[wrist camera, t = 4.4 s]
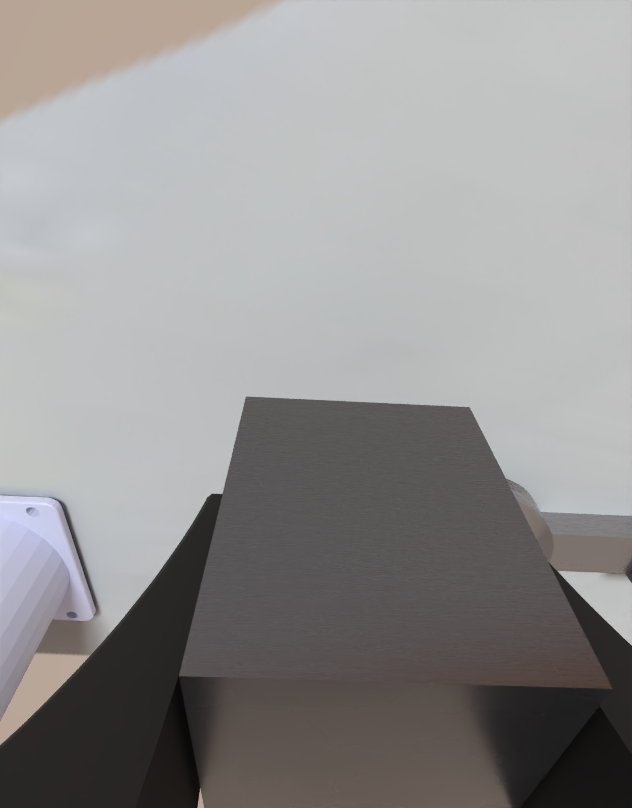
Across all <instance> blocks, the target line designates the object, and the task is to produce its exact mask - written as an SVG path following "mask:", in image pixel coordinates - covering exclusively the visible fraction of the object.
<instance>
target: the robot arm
mask: <svg viewBox="0 0 632 808" xmlns="http://www.w3.org/2000/svg"><path fill="white" fill-rule="evenodd" d="M222 495H223V494H211V495H210V496H209V497H207V499H206V501H205V503H204V505H203V507H202V508H201V510H200V512H199V514H198V515H197V517H196V519H195V520H194V522H193V523H192V525H191V527H190V528H189V530H188V531H187V533H186V534H185V536H184V537H183V539H182V540H181V542H180V543H179V545H178V546H177V548H176V549H175V551H174V552H173V553H172V555H171V556H170V558H169V559H168V561H167V562H166V563H165V565H164V566H163V568H162V569H161V570H160V572H159V573H158V575H157V576H156V577H155V579H154V580H153V581H152V583H151V584H150V585H149V586H148V588H147V589H146V590H145V591H144V593H143V594H142V595H141V597H140V598H139V599H138V600H137V602H136V603H135V604H134V605H133V607H132V608H131V609H130V610H129V612H128V613H127V614H126V615H125V617H124V618H123V619H122V620H121V621H120V623H119V624H118V625H117V626H116V627H115V628H114V630H113V631H112V632H111V633H110V634H109V635H108V637H107V638H106V639H105V640H104V641H103V642H102V643H101V645H100V646H99V647H98V648H97V649H96V650H95V651H94V652H93V653H92V654H91V656H90V657H89V658H88V659H87V660H86V661H85V662H84V663H83V664H82V666H80V668H79V669H78V670H77V671H76V672H75V673H74V674H73V675H72V676H71V677H70V678H69V679H68V680H67V681H66V682H65V683H64V684H63V685H62V686H61V687H60V688H59V689H58V690H57V691H56V692H55V693H54V694H53V695H52V696H51V697H50V698H49V699H48V701H47V702H45V703H44V705H42V706H41V707H40V708H39V710H38V711H36V712H35V713H34V714H33V715H32V716H31V717H30V718H29V719H28V720H27V721H26V722H25V723H24V724H23V725H22V726H21V727H20V728H19V729H18V730H17V731H16V732H14V733H13V734H12V735H11V736H10V737H9V738H8V739H7V740H6V741H5V742H4V743H2V744H1V745H0V808H197V806H198V799H199V792H200V783H199V777H198V772H197V767H196V762H195V757H194V751H193V746H192V741H191V736H190V731H189V725H188V720H187V715H186V710H185V705H184V700H183V694H182V689H181V684H180V679H179V674H180V670H181V666H182V661H183V657H184V653H185V649H186V645H187V641H188V636H189V632H190V628H191V624H192V620H193V616H194V611H195V607H196V603H197V599H198V595H199V591H200V586H201V582H202V578H203V574H204V570H205V566H206V561H207V557H208V553H209V549H210V545H211V541H212V536H213V532H214V528H215V524H216V520H217V516H218V511H219V507H220V503H221V499H222ZM548 563H549V562H548ZM549 565H550V567H551V569H552V571H553V573H554V575H555V576H556V578H557V580H558V582H559V584H560V586H561V588H562V590H563V592H564V594H565V596H566V598H567V600H568V602H569V604H570V606H571V608H572V610H573V612H574V614H575V616H576V618H577V620H578V622H579V624H580V626H581V628H582V630H583V631H584V633H585V635H586V637H587V639H588V641H589V643H590V645H591V647H592V649H593V651H594V653H595V655H596V657H597V659H598V661H599V663H600V665H601V667H602V669H603V671H604V673H605V675H606V677H607V679H608V681H609V683H610V685H611V686H612V688H613V689H612V690H611V692H610V693H609V694H608V696H607V697H606V698H605V699H604V701H603V702H602V703H601V705H600V706H599V707H598V708H597V710H596V711H595V712H594V714H593V715H592V716H591V717H590V719H589V720H588V721H587V723H586V724H585V725H584V726H583V728H582V729H581V730H580V732H579V733H578V734H577V735H576V737H575V738H574V739H573V741H572V742H571V743H570V744H569V746H568V747H567V748H566V750H565V751H564V752H563V753H562V755H561V756H560V757H559V759H558V760H557V761H556V762H555V764H554V765H553V766H552V768H551V769H550V770H549V771H548V773H547V774H546V775H545V777H544V778H543V779H542V780H541V782H540V783H539V784H538V786H537V787H536V788H535V789H534V791H533V792H532V793H531V795H530V796H529V797H528V798H527V800H526V801H525V802H524V804H523V805H522V806H521V807H520V808H632V646H631V645H630V644H629V643H628V642H627V641H626V640H625V639H624V638H623V637H622V636H621V635H620V634H619V633H618V632H617V631H616V630H615V629H614V628H613V627H612V626H611V625H609V624H608V623H607V622H606V621H605V620H604V619H603V618H602V617H601V616H600V615H599V614H598V613H597V612H596V611H595V610H594V609H593V608H592V607H591V606H590V605H589V604H588V603H587V602H586V601H585V600H584V599H583V598H582V597H581V596H580V595H579V594H578V593H577V592H576V591H575V589H574V588H573V587H572V586H571V585H570V584H569V583H568V582H567V581H566V580H565V579H564V578H563V577H562V576H561V575H560V574H559V573H558V571H557V570H556V569H555V568H554V567H553V566H552V565H551V564H550V563H549ZM95 612H96V609H95V606H94V603H93V600H92V597H91V594H90V591H89V588H88V585H87V582H86V579H85V576H84V573H83V570H82V567H81V564H80V560H79V557H78V554H77V551H76V548H75V545H74V542H73V539H72V536H71V533H70V530H69V527H68V524H67V521H66V518H65V515H64V512H63V509H62V506H61V505H60V503H59V502H58V501H56V500H54V499H52V498H47V497H24V496H1V495H0V720H1V718H2V716H3V714H4V713H5V711H6V709H7V707H8V705H9V703H10V701H11V699H12V697H13V695H14V693H15V691H16V689H17V687H18V685H19V683H20V682H21V680H22V678H23V676H24V674H25V672H26V670H27V668H28V666H29V664H30V662H31V660H32V658H33V656H34V654H35V652H36V651H37V649H38V647H39V645H40V643H41V641H42V639H43V637H44V635H45V633H46V631H47V629H48V627H49V625H50V623H51V621H52V620H73V621H88V620H91V619H92V618H93V616H94V614H95Z"/></svg>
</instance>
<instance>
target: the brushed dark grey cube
mask: <svg viewBox="0 0 632 808" xmlns="http://www.w3.org/2000/svg"><path fill="white" fill-rule="evenodd" d="M179 679H180V684H181V689H182V694H183V700H184V705H185V710H186V715H187V720H188V725H189V731H190V736H191V741H192V746H193V751H194V757H195V762H196V767H197V772H198V777H199V783H200V788H201V793H202V798H203V803H204V808H520V807H521V806H522V805H523V804H524V802H525V801H526V800H527V798H528V797H529V796H530V795H531V793H532V792H533V791H534V789H535V788H536V787H537V786H538V784H539V783H540V782H541V780H542V779H543V778H544V777H545V775H546V774H547V773H548V771H549V770H550V769H551V768H552V766H553V765H554V764H555V762H556V761H557V760H558V759H559V757H560V756H561V755H562V753H563V752H564V751H565V750H566V748H567V747H568V746H569V744H570V743H571V742H572V741H573V739H574V738H575V737H576V735H577V734H578V733H579V732H580V730H581V729H582V728H583V726H584V725H585V724H586V723H587V721H588V720H589V719H590V717H591V716H592V715H593V714H594V712H595V711H596V710H597V708H598V707H599V706H600V705H601V703H602V702H603V701H604V699H605V698H606V697H607V696H608V694H609V693H610V692H611V690H612V689H613V688H612V686H611V685H610V683H609V681H608V679H607V677H606V675H605V673H604V671H603V669H602V667H601V665H600V663H599V661H598V659H597V657H596V655H595V653H594V651H593V649H592V647H591V645H590V643H589V641H588V639H587V637H586V635H585V633H584V631H583V630H582V628H581V626H580V624H579V622H578V620H577V618H576V616H575V614H574V612H573V610H572V608H571V606H570V604H569V602H568V600H567V598H566V596H565V594H564V592H563V590H562V588H561V586H560V584H559V582H558V580H557V578H556V576H555V575H554V573H553V571H552V569H551V567H550V565H549V563H548V561H547V559H546V557H545V555H544V553H543V551H542V549H541V547H540V545H539V543H538V541H537V539H536V537H535V535H534V533H533V531H532V529H531V527H530V525H529V523H528V521H527V520H526V518H525V516H524V514H523V512H522V510H521V508H520V506H519V504H518V502H517V500H516V498H515V496H514V494H513V492H512V490H511V488H510V486H509V484H508V482H507V480H506V478H505V476H504V474H503V472H502V470H501V468H500V466H499V465H498V463H497V461H496V459H495V457H494V455H493V453H492V451H491V449H490V447H489V445H488V443H487V441H486V439H485V437H484V435H483V433H482V431H481V429H480V427H479V425H478V423H477V421H476V419H475V417H474V415H473V413H472V411H471V410H470V408H469V407H451V406H430V405H409V404H388V403H367V402H346V401H325V400H304V399H284V398H263V397H246V399H245V403H244V407H243V412H242V416H241V420H240V424H239V428H238V432H237V437H236V441H235V445H234V449H233V453H232V457H231V462H230V466H229V470H228V474H227V478H226V482H225V486H224V491H223V495H222V499H221V503H220V507H219V511H218V516H217V520H216V524H215V528H214V532H213V536H212V541H211V545H210V549H209V553H208V557H207V561H206V566H205V570H204V574H203V578H202V582H201V586H200V591H199V595H198V599H197V603H196V607H195V611H194V616H193V620H192V624H191V628H190V632H189V636H188V641H187V645H186V649H185V653H184V657H183V661H182V666H181V670H180V674H179Z"/></svg>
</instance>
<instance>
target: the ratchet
mask: <svg viewBox="0 0 632 808" xmlns="http://www.w3.org/2000/svg"><path fill="white" fill-rule="evenodd" d="M506 480H507V479H506ZM507 482H508V484H509V486H510V488H511V490H512V492H513V494H514V496H515V498H516V500H517V502H518V504H519V506H520V508H521V510H522V512H523V514H524V516H525V518H526V520H527V521H528V523H529V525H530V527H531V529H532V531H533V533H534V535H535V537H536V539H537V541H538V543H539V545H540V547H541V549H542V551H543V553H544V555H545V557H546V559H547V561H548V562H549V563H550V564H551V565H552V566H553V567H554V568H555V569H556V570H557V571H576V572H600V573H625V574H626V575H627V577H628V578H629V580H630V581H631V583H632V516H616V515H594V514H571V513H548V512H540V511H539V509H538V507H537V505H536V503H535V501H534V500H533V498H532V497H531V495H530V494H529V493H528V492H527V491H526V490H525V489H524V488H523V487H521V486H520V485H518V484H516V483H514V482H512V481H510V480H507Z"/></svg>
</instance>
